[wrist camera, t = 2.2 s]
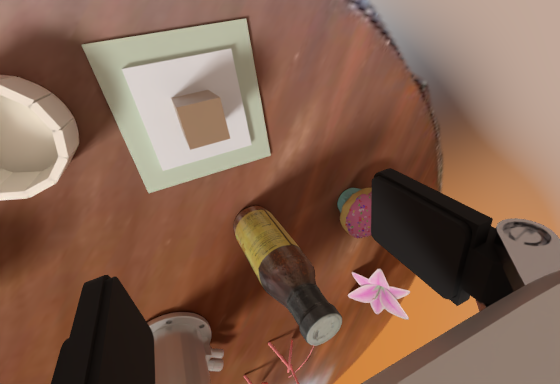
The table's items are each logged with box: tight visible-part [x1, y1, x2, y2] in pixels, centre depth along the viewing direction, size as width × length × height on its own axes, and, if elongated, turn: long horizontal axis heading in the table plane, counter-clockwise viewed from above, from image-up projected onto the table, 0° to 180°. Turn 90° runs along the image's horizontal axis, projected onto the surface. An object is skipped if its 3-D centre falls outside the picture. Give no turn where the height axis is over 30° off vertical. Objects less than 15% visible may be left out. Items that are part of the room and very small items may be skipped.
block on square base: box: [122, 48, 252, 171], centre depth 29 cm, size 11×11×7 cm
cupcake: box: [337, 188, 372, 238], centre depth 43 cm, size 9×8×12 cm
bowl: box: [0, 75, 79, 200], centre depth 24 cm, size 10×10×6 cm
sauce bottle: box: [233, 206, 342, 346], centre depth 34 cm, size 6×6×20 cm
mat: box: [82, 18, 271, 193], centre depth 32 cm, size 16×16×1 cm
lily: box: [348, 269, 410, 319], centre depth 57 cm, size 12×12×10 cm
